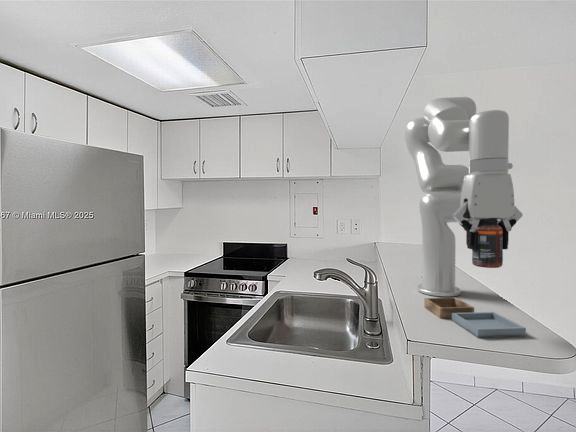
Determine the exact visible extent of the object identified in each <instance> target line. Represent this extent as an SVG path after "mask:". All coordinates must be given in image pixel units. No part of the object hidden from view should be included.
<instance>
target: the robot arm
mask: <svg viewBox="0 0 576 432" xmlns="http://www.w3.org/2000/svg"><path fill="white" fill-rule="evenodd" d="M509 118H510V117H509V114H508V113H507V111H506V110H505V111H504V110H500V109H493V110H485V111H479V112H478V113H477V105H476V103H475V100H473V99H472V98H471V97H467V96H457V97H454V96H453V97H437V98H435V99H433V100H431V101H429V102H428V103H427V104H426V105H425V106H424V110H423V117H417V118H414V119H412V120H410V121H409V122H408V123H407V124H406V127H405V130H404V138H405V144H406V148H407V150H408V153H409V154H410V156H411V158H412V160H413V162H414V165H415V169H416V175H417V179H418V184H419V187H420V190H421V191H422V192H423V193H425V194H424V195H423V196H422V197H421V198H420V201H419V204H418V205H419V207H418V208H419V214H420V218H421V228H422V229H421V230H422V231H421V234H422V235H421V236H422V263H421V264H422V265H421V267H422V272H421V273H422V275H421V279H422V282H421V283H420V284H418V285H417V287H416V289H417V291H418V292H419V293H422V294H425V295H428V296H434V297H442V298H451V297H456V296H459V295H461V293H462V290H461V288H459V287H458V286H456V235H455V233H454V231H453V230H452V229H451V228H450V227H449V225H448V224H449V223H458V224H459V225H460V226H461V228H463V230H464V231H465V233H466V235H465V237H466V241H465V242H466V243H465V245H466V247H467V249H469V250H471V251H472V250H478V247H479V233H478V232H476V229H477V226H478V224H479V221H480V219H489V218H496V219H498V222H497V224H498V225H499V226H501V227H502V229H503V250H508V249H509V233H510V232H511V231H512V228H513V227H514V226H515V225H516V224H517V222H518V221H519V220H521V218H522V217H523V212H522V211H520V210H519V208H518V207H517V206H516V205H515V192H514V184H513V179H512V176H511V174H510V173H509V170H512V169H513V163H512V162H509V140H510V139H509V136H510V135H509V133H510V132H509V127H510V123H509V122H510V119H509ZM429 143H430V144H429ZM439 151H440V152H446V153H450V152H451V153H452V152H468V167H467V166H466V165H463V164H445V163H443V159H442V155H441V153H440V152H439Z"/></svg>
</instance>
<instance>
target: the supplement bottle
mask: <svg viewBox="0 0 576 432" xmlns="http://www.w3.org/2000/svg"><path fill="white" fill-rule="evenodd" d="M497 222H498V219H496V218H489V219H480V221H479V224H478V226H477V229H476V232H478V233H479V247H478V250H472V249H471V256H472V257H471V261H472V262H471V263H472V265H474V266H475V267H479V268H487V269H499V268H501V267H502V266H503V265H504V264H503V261H504V258H503V257H504V253H503V251H504V249H503V229H502V227H501V226H499V225H498V224H497Z"/></svg>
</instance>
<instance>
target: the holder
mask: <svg viewBox="0 0 576 432" xmlns="http://www.w3.org/2000/svg"><path fill="white" fill-rule="evenodd" d="M423 304H424V306H423V307H424V308H425V309H426V310H427V311H429V312H430V313H432V314H433V315H434V316H435V317H437V318H439V319H452V313H470V312H475V307H474V306H473V305H470V304H468V303H467V302H465V301H463V300H461V299H459V298H457V297H456V296H452V297H428V298H427V297H425V298H424V303H423Z"/></svg>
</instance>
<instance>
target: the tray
mask: <svg viewBox="0 0 576 432" xmlns="http://www.w3.org/2000/svg"><path fill="white" fill-rule="evenodd" d="M451 321H452V322H453V323H455V324H457V325H458V326H460V327H461V328H462V329H464V330H465V331H467V332H469V333H470V334H471V335H473V336H474V337H476V338H477V339H485V338H486V339H490V338H518V337H519V338H521V337H527V335H526V334H527V330H526V327H524V326H522V325H520V324H519V323H516V322H514V321H513V320H511V319H509V318H507V317H505V316H503V315H501V314H499V313H497V312H495V311H478V312H477V311H476V312H475V311H474V312H470V313H452V318H451Z"/></svg>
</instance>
